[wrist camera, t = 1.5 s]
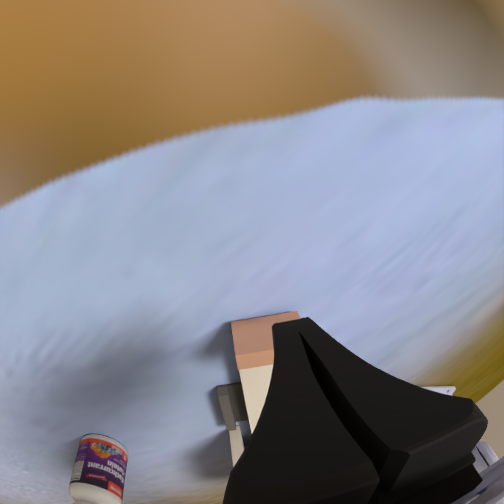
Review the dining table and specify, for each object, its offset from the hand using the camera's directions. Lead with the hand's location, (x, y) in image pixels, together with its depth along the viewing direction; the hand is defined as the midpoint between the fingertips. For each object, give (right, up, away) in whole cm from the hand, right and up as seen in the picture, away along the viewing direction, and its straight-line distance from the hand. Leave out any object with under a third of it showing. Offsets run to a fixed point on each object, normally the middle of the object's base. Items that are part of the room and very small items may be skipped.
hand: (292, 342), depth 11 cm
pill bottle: (-17, -17, +15) cm, 29 cm away
